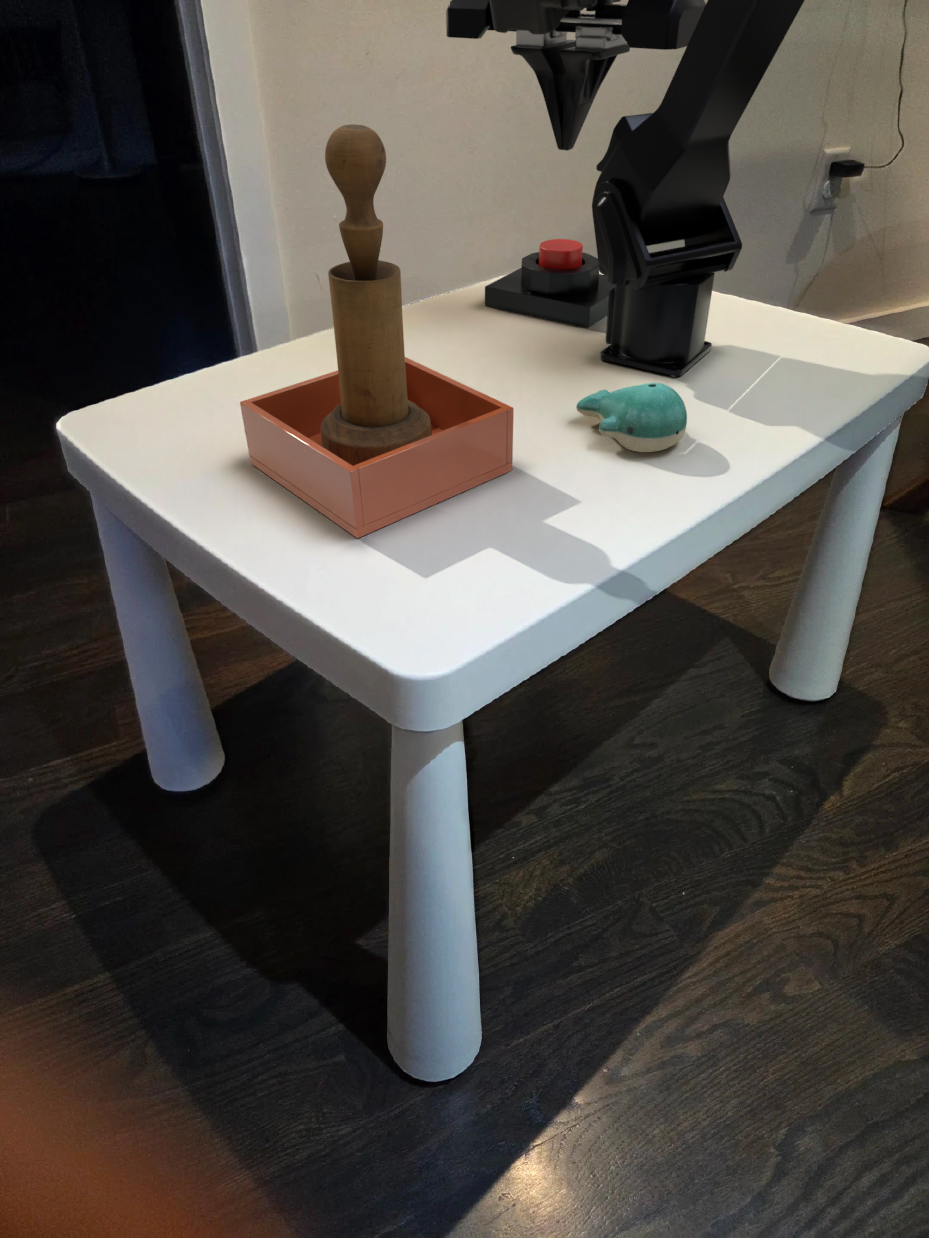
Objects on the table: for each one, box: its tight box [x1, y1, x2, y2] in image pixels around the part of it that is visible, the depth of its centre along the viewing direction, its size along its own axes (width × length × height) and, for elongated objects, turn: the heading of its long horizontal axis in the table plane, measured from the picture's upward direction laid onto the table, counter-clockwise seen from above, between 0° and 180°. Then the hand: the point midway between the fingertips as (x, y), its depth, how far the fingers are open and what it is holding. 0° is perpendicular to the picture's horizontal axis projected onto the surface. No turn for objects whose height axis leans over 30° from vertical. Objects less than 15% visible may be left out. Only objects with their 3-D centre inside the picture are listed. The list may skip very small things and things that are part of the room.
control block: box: [484, 251, 616, 329], centre depth 78 cm, size 10×8×4 cm
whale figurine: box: [575, 382, 688, 453], centre depth 58 cm, size 6×7×4 cm
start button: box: [538, 238, 584, 269], centre depth 76 cm, size 4×4×2 cm
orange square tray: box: [239, 356, 515, 539], centre depth 55 cm, size 12×12×4 cm
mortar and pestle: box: [321, 123, 432, 466], centre depth 50 cm, size 7×6×18 cm
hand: (565, 149), depth 71 cm, fingers closed
